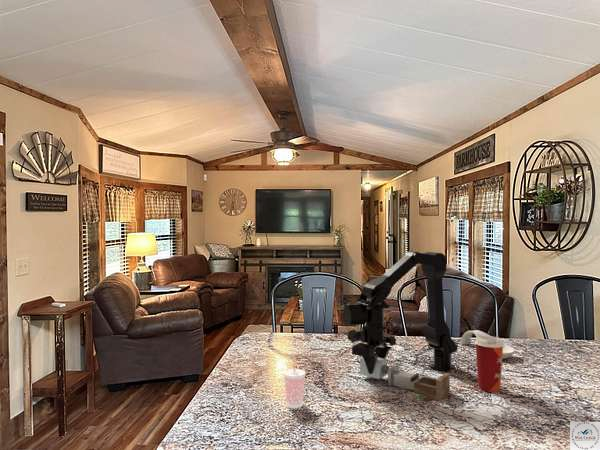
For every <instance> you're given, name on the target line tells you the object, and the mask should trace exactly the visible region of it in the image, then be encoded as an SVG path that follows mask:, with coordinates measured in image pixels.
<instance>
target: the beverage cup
mask: <svg viewBox="0 0 600 450" xmlns="http://www.w3.org/2000/svg"><path fill="white" fill-rule="evenodd" d="M292 358H293V364H292V365H293V368H289V369H286V370H284V371H283V378H284V379H283V380H284V389H285V390H284V391H285V393H284V394H285V407H287V408H289V409H299V408H301V407H303V405H304V393H305V392H304V390H305V378H306V371H305V370H304V369H302V368H301V369H300V368H296V354H295V353H293V357H292Z"/></svg>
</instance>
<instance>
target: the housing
mask: <svg viewBox="0 0 600 450" xmlns="http://www.w3.org/2000/svg"><path fill="white" fill-rule="evenodd" d="M423 376H424V384H423V383H419V382H415V383H414V390H413V392H408V393H407V397H409V398H413V399H416V400H422V401H426V402H430V401H431V400H432V399H433V400H437V401H442V400H443V399H444V398H446V396H447V395H448V394H450V387H451V386H450V385H451V384H450V383H451V382H450V377H451V375H450V373H448V372H445V373H444V374H442V375H440V377H438V378H435V377H431V376H426V375H423Z"/></svg>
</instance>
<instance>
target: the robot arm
mask: <svg viewBox="0 0 600 450" xmlns="http://www.w3.org/2000/svg"><path fill="white" fill-rule="evenodd" d="M447 260H448V259H447V257H446V255H444V253H441V252H435V251H434V252H433V251H432V252H431V251H426V252H422V253H421V252H419V251H415V250H414V251H412V250H409V251H407V252H406V253H404V255H403V257H401V258H400V259H399V260H398V261H397V262H396V263H394V264H393V266H391V267H390V268H389V269H388V270H387V271H385V272H384V274H382V275H380V276H378V277H376V278H373V279H371V280H370V281H367V282H366V283H365V284H364V285H363V287H362V291H361V292H360V295H359V296H358V298H357V299H356V301H355V303H349V302H348V303H345V307H344V308H343V310H342V314H341V319H342V323H343V324H344V325H345V326H346V327H350V326H351V327H352V326H360V325H363V326H362V327H361V329H358V330H356V329H351V330H348V332H347V339H348V341H349V342H350V343H351V344H353V343H356V342H359V341H361V342H359V343H356V344H354V345H353V346H351V354H352V355H356V356H360V357H361V358H364V361H365V363H366V366H367V369H368V372H369V374H372V373H373V370H374V367H375V364H376V360H377V357H380V358H385V359H387V356H388V354H389V353H390V350H391V349H392V346H395V345H397V338H396V337H395V336H394V334H393V335H392V334H387V333H384V332H385V331H384V330H387V325H384V324H385V323H384V322H385V321H384V316H385V315H384V310H385V309H390V308H391V306H390V305H389V304H388V303H386V301H385V300H386V299H387V298H388V297H389V296H390V295H391V292H392V289H393V287H394V286H395V285H396V284H397V283H398V282H399V281H400V280H401V279H402V278H403V277H405V275H407V274H408V273H409V272H410V271H411V270H412V269H413V268H414V267H416V265H421V269H422V272H423V274H424V276H425V278H426V285H427V297H428V298H427V299H428V302H427V303H428V317H429V318H428V319H429V320H428V322H427V324H423V337H424V339H425V341H426V342H427V345H428V347H429V348H431V349H433V363H432V364H430V367H429V368H431V369H436V370H440V371H445V372H450V371H451V370H452V369H454V368H455V367H456V365H455V364H452V354H454V353H457V352H458V351H457V350H458V347H459V346H458V344H457V343H456V342H455V341H454V340H453V339H452V336H451V331H450V330H451V329H450V327H449V325H448V324H447V321H446V319H445V306H444V305H445V303H444V287H443V278H444V276H445V274H446V272H447V263H448V261H447ZM388 344H389V345H390V346H388Z"/></svg>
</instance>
